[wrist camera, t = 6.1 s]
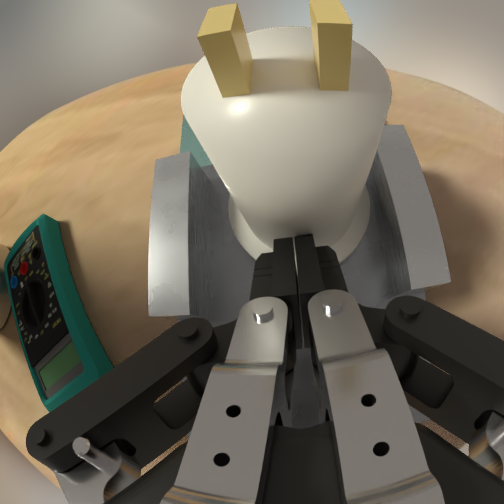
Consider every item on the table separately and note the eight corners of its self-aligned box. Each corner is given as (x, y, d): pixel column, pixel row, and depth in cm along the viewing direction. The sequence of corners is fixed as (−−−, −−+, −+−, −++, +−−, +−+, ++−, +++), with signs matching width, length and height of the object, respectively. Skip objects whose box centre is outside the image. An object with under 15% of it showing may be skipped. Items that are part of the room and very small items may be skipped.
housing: (195, 435, 13) (163, 461, 10) (188, 119, 19) (167, 83, 16) (423, 414, 11) (454, 436, 7) (359, 94, 17) (364, 53, 13)
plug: (229, 275, 14) (69, 159, 4) (237, 156, 16) (163, -6, 6) (371, 275, 13) (503, 141, 3) (358, 152, 15) (383, -24, 4)
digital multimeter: (60, 216, 20) (37, 204, 18) (124, 375, 16) (94, 380, 13) (20, 265, 20) (-2, 258, 18) (70, 412, 16) (44, 418, 13)
